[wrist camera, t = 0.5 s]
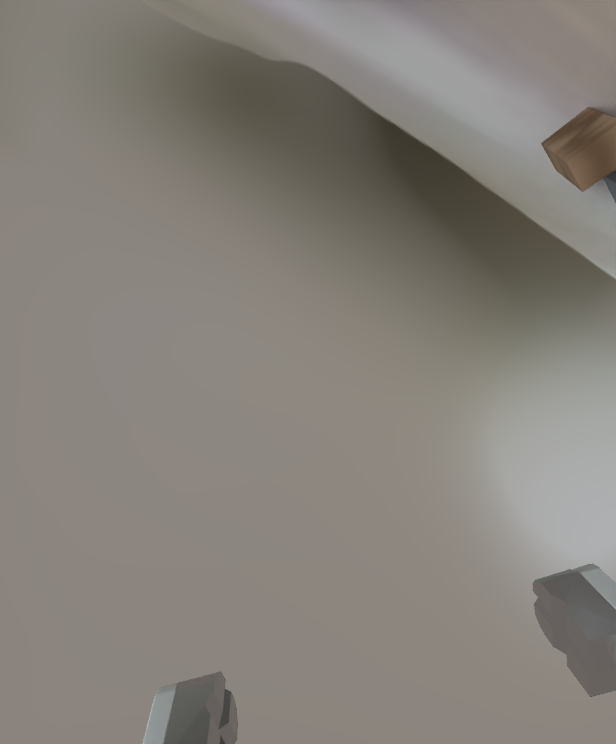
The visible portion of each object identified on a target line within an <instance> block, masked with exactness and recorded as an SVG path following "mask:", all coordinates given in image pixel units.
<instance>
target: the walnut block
mask: <svg viewBox="0 0 616 744" xmlns="http://www.w3.org/2000/svg"><path fill="white" fill-rule="evenodd" d="M541 144H542V146H543V148H544V150H545V151H546V153H547V155H548V157H549V158H550V160H551V162H552V164H553V166H554V167H555V169H556V171H558V172H559V173H560V174H561V175H562V176H564V177H565V178H566V179H567V180H569V181H570V182H571V183H572V184H573V185H575V186H576V187H577V188H578V189H580V190H581V191H582V192H583V191H584V190H586V189H587V188H589V187H590V186H592V185H593V184H595V183H596V182H598V181H599V180H601V179H602V178H604V177H605V176H607V175H608V174H610V173H611V172H613V171H614V170H616V118H614V117H612V116H609V115H607V114H604V113H602V112H599V111H597V110H594V109H592V108H589V107H587V108H586V109H585V110H584V111H582V112H581V113H580V114H578V115H577V116H576V117H575V118H573V119H572V120H571V121H569V122H568V123H567V124H566V125H564V126H563V127H562V128H560V129H559V130H558V131H557V132H555V133H554V134H553V135H551V136H550V137H549V138H548V139H546V140H545V141H544V142H542V143H541Z"/></svg>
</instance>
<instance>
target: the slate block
mask: <svg viewBox="0 0 616 744" xmlns="http://www.w3.org/2000/svg"><path fill="white" fill-rule="evenodd" d="M604 180H605V182H606V184H607V186H608V188H609V190H610V192H611V194H612V196H613V198H614V200H615V202H616V170H614V171H613V172H611V173H610V174H608V175H607V176H605V177H604Z"/></svg>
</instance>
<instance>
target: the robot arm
mask: <svg viewBox="0 0 616 744" xmlns="http://www.w3.org/2000/svg"><path fill="white" fill-rule="evenodd" d="M533 591H534V593H535V594H536V595H537V596H538V599H537V601H536V602H535V604H534V607H535V615H536V617H537V619H538V622H539V624H540V627H541V629H542V630H543V632H544V634H545V635H546V637H547V638H548V640H549V641H550V643H551V644H552V645H553V647H555V648H557V649H558V650H560V651H562V652H563V653H565V654H567V666H568V667H569V669H570V670H571V671H572V673H573V674H574V676H575V677H576V678H577V680H578V681H579V682H580V684H581V685H582V686H583V688H584V689H585V690H586V692H587V693H588V695H589V696H590V697H592V696H596V695H600V694H604V693H608V692H612V691H615V690H616V583H615V582H614V581H613V580H612V579H611V578H610V577H609V576H608V575H606V573H604V572H603V571H602V570H601V569H600V568H599V567H598V566H596V565H594V564H588V565H585V566H582V567H579V568H576V569H572V570H571V569H569V570H566V571H563V572H560V573H556V574H553V575H550V576H547V577H543V578H540V579H537V580H535V581H534V582H533ZM237 727H238V723H237V708H236V704H235V700H234V697H233V695H232V693H231V692H230V691H228V690H226V689H225V678H224V676H223V674H222V673H221V672H217V673H213V674H209V675H205V676H202V677H198V678H194V679H190V680H187V681H183V682H179V683H175V684H171V685H168V686H165V687H161V688H159V690H158V692H157V694H156V696H155V697H154V701H153V705H152V709H151V713H150V717H149V721H148V725H147V729H146V732H145V736H144V740H143V744H235V742H236V740H237Z"/></svg>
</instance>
